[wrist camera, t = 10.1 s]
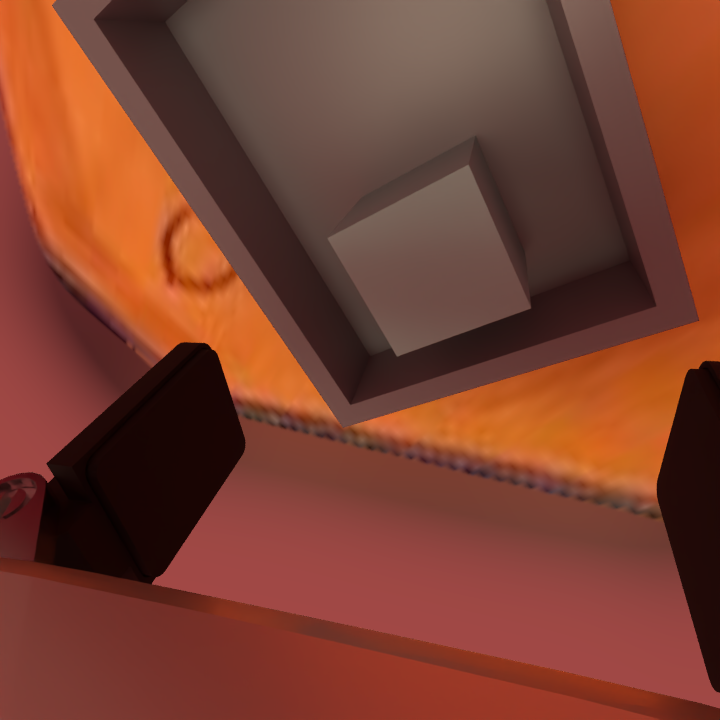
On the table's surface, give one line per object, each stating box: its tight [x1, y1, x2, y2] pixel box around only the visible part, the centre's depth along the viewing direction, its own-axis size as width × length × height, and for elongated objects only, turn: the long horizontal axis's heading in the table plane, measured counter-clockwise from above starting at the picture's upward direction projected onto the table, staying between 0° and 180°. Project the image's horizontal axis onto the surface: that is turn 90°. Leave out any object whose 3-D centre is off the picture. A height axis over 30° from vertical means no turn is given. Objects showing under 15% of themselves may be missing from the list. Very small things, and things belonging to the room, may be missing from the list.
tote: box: [52, 0, 699, 428], centre depth 18 cm, size 18×14×5 cm
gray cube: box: [327, 135, 531, 356], centre depth 18 cm, size 5×5×5 cm
